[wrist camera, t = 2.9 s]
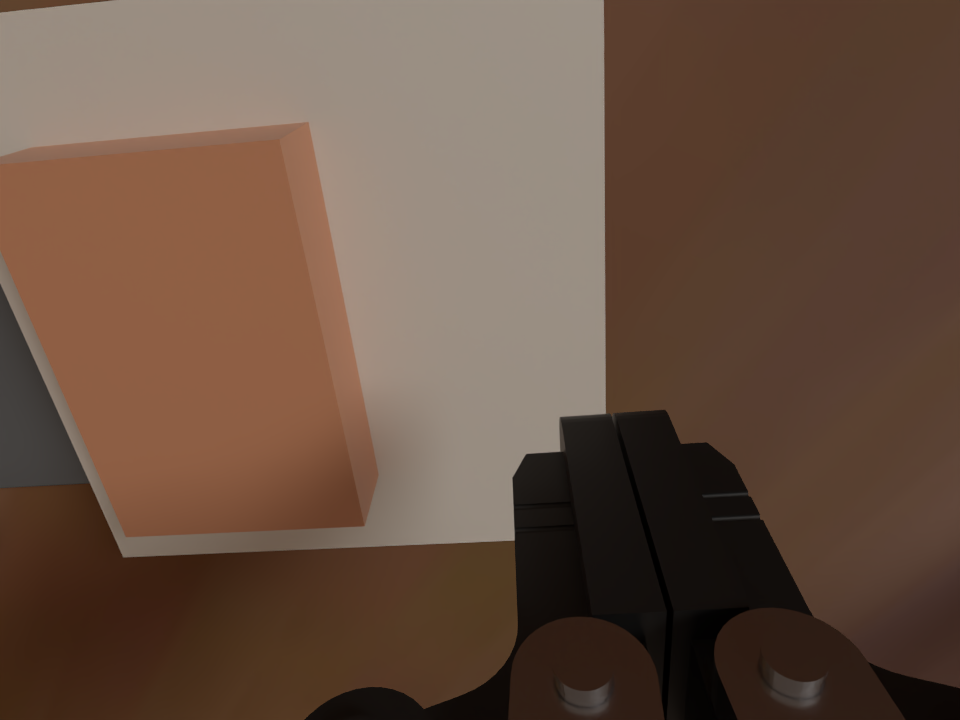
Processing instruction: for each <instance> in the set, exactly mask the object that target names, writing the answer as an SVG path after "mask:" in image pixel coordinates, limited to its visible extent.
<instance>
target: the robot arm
mask: <svg viewBox="0 0 960 720" xmlns="http://www.w3.org/2000/svg"><path fill="white" fill-rule="evenodd" d="M559 433H560V452H548V453H531V454H526V455H525V457H524V458H523V460H522V462H521V464H520V465H519V467H518V469H517V471H516V472H515V474H514V476H513V477H512V481H513V506H514V530H515V559H516V585H517V610H518V634H517V638H516V642H515V646H514V648H513V650H512V653H511V655H510V657H509V658H508V660H507V661H506V663H505V664H504V666H503V667H502V668H501V669H500V670H499V671H498V672H497V673H496V674H495V675H494V676H493V677H492V678H491V679H490V680H488V681H487V682H486V683H484V684H483V685H481V686H480V687H478V688H476V689H475V690H473V691H470V692H468V693H466V694H464V695H461V696H459V697H456V698H453V699H450V700H448V701H445V702H442V703H440V704H437V705H434V706H431V707H429V708H426V709H423V708H422V707H421V706H420V705H419V704H418V703H417V702H416V701H415V700H414V699H412V698H410V697H409V696H407V695H405V694H404V693H401V692H398V691H396V690H393V689H388V688H382V687H367V688H361V689H355V690H352V691H349V692H345V693H343V694H341V695H338V696H336V697H334V698H332V699H330V700H329V701H327V702H326V703H324V704H322V705H321V706H319V707H318V708H317V709H316V710H315V711H314V712H312V713H311V714H310V715H309V716H308V717H307V718H306V719H305V720H960V688H956V687H952V686H947V685H943V684H939V683H934V682H930V681H925V680H921V679H917V678H912V677H908V676H904V675H901V674H897V673H894V672H890V671H888V670H885V669H883V668H880V667H877V666H875V665H873V664H871V663H869V662H867V660H866V659H865V657H864V656H863V655H862V653H861V652H860V651H859V650H858V648H857V647H856V646H855V645H854V644H853V643H852V642H851V641H850V640H849V639H848V638H847V637H845V636H844V635H843V634H841V633H840V632H839V631H838V630H836V629H835V628H833V627H831V626H830V625H828V624H827V623H825V622H823V621H821V620H819V619H817V618H814V617H813V615H812V613H811V612H810V610H809V608H808V606H807V605H806V603H805V601H804V599H803V597H802V595H801V593H800V591H799V589H798V587H797V585H796V583H795V581H794V579H793V577H792V576H791V574H790V572H789V570H788V568H787V566H786V564H785V562H784V560H783V558H782V556H781V554H780V552H779V550H778V548H777V547H776V545H775V543H774V541H773V539H772V537H771V535H770V533H769V531H768V529H767V527H766V525H765V523H764V521H763V520H760V514H759V512H758V510H757V508H756V506H755V504H754V502H753V500H752V498H751V497H749V496H748V490H747V489H746V487H745V485H744V483H743V481H742V479H741V477H740V475H739V473H738V471H737V469H736V467H735V465H734V464H733V463H732V462H730V461H729V460H728V459H727V458H726V457H724V456H723V455H722V454H721V453H719V452H718V451H717V450H716V449H714V448H713V447H712V446H711V445H709V444H708V443H690V444H680V441H679V439H678V436H677V434H676V432H675V429H674V427H673V425H672V422H671V420H670V417H669V415H668V413H667V412H666V411H665V410H655V411H640V412H624V413H613V416H611V414H596V415H581V416H565V417H560V418H559Z"/></svg>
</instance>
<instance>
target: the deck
mask: <svg viewBox="0 0 960 720" xmlns="http://www.w3.org/2000/svg"><path fill="white" fill-rule="evenodd" d="M303 122H309V127H310V132H311V137H312V142H313V147H314V152H315V157H316V162H317V167H318V172H319V177H320V182H321V187H322V192H323V197H324V202H325V207H326V212H327V217H328V222H329V227H330V232H331V237H332V242H333V247H334V252H335V257H336V263H337V268H338V273H339V278H340V283H341V288H342V293H343V298H344V303H345V308H346V313H347V318H348V323H349V328H350V333H351V338H352V343H353V348H354V353H355V358H356V363H357V368H358V373H359V378H360V383H361V388H362V393H363V398H364V403H365V408H366V413H367V418H368V423H369V428H370V433H371V439H372V444H373V449H374V454H375V459H376V464H377V469H378V474H379V476H378V480H377V483H376V487H375V491H374V494H373V498H372V502H371V505H370V509H369V512H368V516H367V520H366V523H365V526H362V527H340V528H318V529H296V530H274V531H252V532H230V533H208V534H187V535H165V536H143V537H126V536H125V534H124V532H123V529H122V527H121V525H120V523H119V520H118V518H117V516H116V513H115V511H114V509H113V507H112V504H111V502H110V500H109V497H108V495H107V493H106V491H105V488H104V486H103V484H102V482H101V479H100V477H99V475H98V472H97V470H96V468H95V466H94V463H93V461H92V459H91V456H90V454H89V452H88V450H87V447H86V445H85V443H84V441H83V438H82V436H81V434H80V431H79V429H78V427H77V425H76V422H75V420H74V418H73V415H72V413H71V411H70V409H69V406H68V404H67V402H66V399H65V397H64V395H63V393H62V390H61V388H60V386H59V384H58V381H57V379H56V377H55V374H54V372H53V370H52V368H51V365H50V363H49V361H48V358H47V356H46V354H45V352H44V349H43V347H42V345H41V342H40V340H39V338H38V336H37V333H36V331H35V329H34V327H33V324H32V322H31V320H30V317H29V315H28V313H27V311H26V308H25V306H24V304H23V301H22V299H21V297H20V295H19V292H18V290H17V288H16V286H15V283H14V281H13V279H12V276H11V274H10V272H9V270H8V267H7V265H6V263H5V260H4V258H3V256H2V254H1V251H0V284H1V286H2V289H3V291H4V293H5V295H6V297H7V300H8V302H9V304H10V306H11V309H12V311H13V313H14V315H15V317H16V320H17V322H18V324H19V326H20V329H21V331H22V333H23V335H24V337H25V340H26V342H27V344H28V346H29V349H30V351H31V353H32V355H33V358H34V360H35V362H36V364H37V366H38V369H39V371H40V373H41V375H42V378H43V380H44V382H45V384H46V386H47V389H48V391H49V393H50V395H51V398H52V400H53V402H54V404H55V406H56V409H57V411H58V413H59V415H60V418H61V420H62V422H63V424H64V427H65V429H66V431H67V433H68V435H69V438H70V440H71V442H72V444H73V447H74V449H75V451H76V453H77V455H78V458H79V460H80V462H81V464H82V467H83V469H84V471H85V473H86V475H87V478H88V480H89V482H90V484H91V487H92V489H93V491H94V493H95V496H96V498H97V500H98V502H99V504H100V507H101V509H102V511H103V513H104V516H105V518H106V520H107V522H108V524H109V527H110V529H111V531H112V533H113V536H114V538H115V540H116V542H117V544H118V547H119V549H120V551H121V553H122V556H123V557H144V556H167V555H190V554H213V553H236V552H259V551H282V550H305V549H328V548H351V547H374V546H397V545H420V544H443V543H466V542H489V541H512V540H515V530H514V506H513V481H512V477H513V476H514V474H515V472H516V471H517V469H518V467H519V465H520V464H521V462H522V460H523V458H524V457H525V455H526V454H531V453H548V452H560V433H559V418H560V417H565V416H581V415H596V414H606V396H605V173H604V0H114V1H105V2H96V3H86V4H77V5H68V6H58V7H49V8H40V9H30V10H21V11H12V12H3V13H0V157H1V156H4V155H7V154H11V153H14V152H17V151H21V150H24V149H27V148H31V147H40V146H51V145H62V144H73V143H84V142H95V141H106V140H117V139H128V138H139V137H150V136H161V135H172V134H183V133H194V132H205V131H216V130H227V129H238V128H248V127H259V126H270V125H281V124H292V123H303Z"/></svg>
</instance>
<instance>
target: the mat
mask: <svg viewBox="0 0 960 720" xmlns="http://www.w3.org/2000/svg"><path fill="white" fill-rule="evenodd" d="M85 483H90V482H89V480H88V478H87V475H86V473H85V471H84V469H83V467H82V464H81V462H80V460H79V458H78V455H77V453H76V451H75V449H74V447H73V444H72V442H71V440H70V438H69V435H68V433H67V431H66V429H65V427H64V424H63V422H62V420H61V418H60V415H59V413H58V411H57V409H56V406H55V404H54V402H53V400H52V398H51V395H50V393H49V391H48V389H47V386H46V384H45V382H44V380H43V378H42V375H41V373H40V371H39V369H38V366H37V364H36V362H35V360H34V358H33V355H32V353H31V351H30V349H29V346H28V344H27V342H26V340H25V337H24V335H23V333H22V331H21V329H20V326H19V324H18V322H17V320H16V317H15V315H14V313H13V311H12V309H11V306H10V304H9V302H8V300H7V297H6V295H5V293H4V291H3V289H2V286H1V284H0V488H8V487H27V486H46V485H66V484H85Z"/></svg>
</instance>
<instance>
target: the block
mask: <svg viewBox="0 0 960 720" xmlns="http://www.w3.org/2000/svg"><path fill="white" fill-rule="evenodd" d="M0 251H1V254H2V256H3V258H4V260H5V263H6V265H7V267H8V270H9V272H10V274H11V276H12V279H13V281H14V283H15V286H16V288H17V290H18V292H19V295H20V297H21V299H22V301H23V304H24V306H25V308H26V311H27V313H28V315H29V317H30V320H31V322H32V324H33V327H34V329H35V331H36V333H37V336H38V338H39V340H40V342H41V345H42V347H43V349H44V352H45V354H46V356H47V358H48V361H49V363H50V365H51V368H52V370H53V372H54V374H55V377H56V379H57V381H58V384H59V386H60V388H61V390H62V393H63V395H64V397H65V399H66V402H67V404H68V406H69V409H70V411H71V413H72V415H73V418H74V420H75V422H76V425H77V427H78V429H79V431H80V434H81V436H82V438H83V441H84V443H85V445H86V447H87V450H88V452H89V454H90V456H91V459H92V461H93V463H94V466H95V468H96V470H97V472H98V475H99V477H100V479H101V482H102V484H103V486H104V488H105V491H106V493H107V495H108V497H109V500H110V502H111V504H112V507H113V509H114V511H115V513H116V516H117V518H118V520H119V523H120V525H121V527H122V529H123V532H124V534H125V536H126V537H143V536H165V535H187V534H208V533H230V532H252V531H274V530H296V529H318V528H340V527H362V526H365V523H366V520H367V516H368V512H369V509H370V505H371V502H372V498H373V494H374V491H375V487H376V483H377V480H378V476H379V474H378V469H377V464H376V459H375V454H374V449H373V444H372V439H371V433H370V428H369V423H368V418H367V413H366V408H365V403H364V398H363V393H362V388H361V383H360V378H359V373H358V368H357V363H356V358H355V353H354V348H353V343H352V338H351V333H350V328H349V323H348V318H347V313H346V308H345V303H344V298H343V293H342V288H341V283H340V278H339V273H338V268H337V263H336V257H335V252H334V247H333V242H332V237H331V232H330V227H329V222H328V217H327V212H326V207H325V202H324V197H323V192H322V187H321V182H320V177H319V172H318V167H317V162H316V157H315V152H314V147H313V142H312V137H311V132H310V127H309V122H303V123H292V124H281V125H270V126H259V127H248V128H238V129H227V130H216V131H205V132H194V133H183V134H172V135H161V136H150V137H139V138H128V139H117V140H106V141H95V142H84V143H73V144H62V145H51V146H40V147H31V148H27V149H24V150H21V151H17V152H14V153H11V154H7V155H4V156H1V157H0Z"/></svg>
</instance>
